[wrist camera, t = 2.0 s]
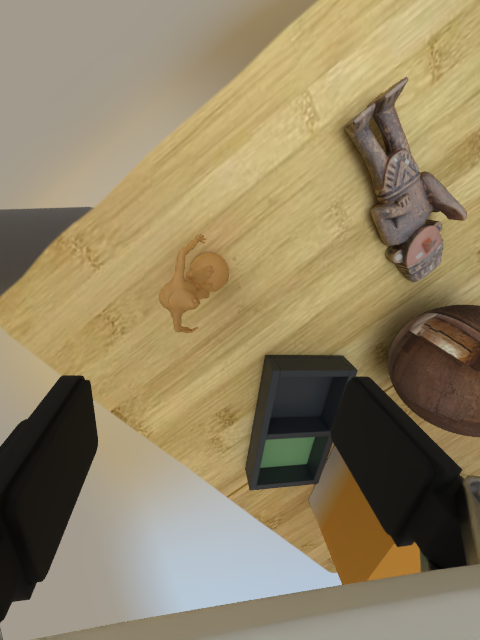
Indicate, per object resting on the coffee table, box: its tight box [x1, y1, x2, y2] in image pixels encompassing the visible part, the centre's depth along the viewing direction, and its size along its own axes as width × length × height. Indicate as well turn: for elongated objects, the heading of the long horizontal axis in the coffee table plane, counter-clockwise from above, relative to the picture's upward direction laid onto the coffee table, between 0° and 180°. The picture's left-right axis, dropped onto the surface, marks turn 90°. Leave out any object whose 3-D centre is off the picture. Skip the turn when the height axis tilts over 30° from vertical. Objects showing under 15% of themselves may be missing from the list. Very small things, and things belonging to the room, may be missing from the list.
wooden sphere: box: [388, 305, 480, 437], centre depth 31 cm, size 15×15×15 cm
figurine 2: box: [344, 77, 467, 282], centre depth 27 cm, size 7×5×20 cm
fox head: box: [309, 445, 421, 585], centre depth 40 cm, size 18×21×20 cm
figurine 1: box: [159, 234, 229, 333], centre depth 23 cm, size 8×6×12 cm
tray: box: [245, 355, 358, 490], centre depth 38 cm, size 12×22×4 cm, turn 173°
